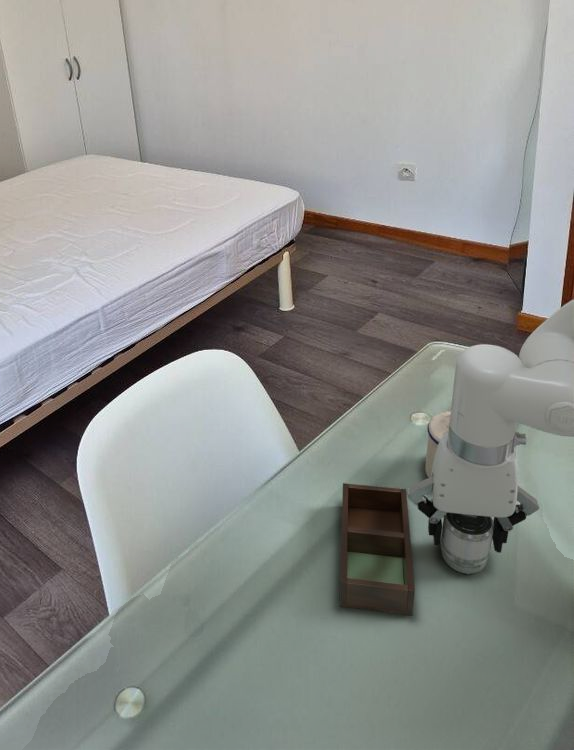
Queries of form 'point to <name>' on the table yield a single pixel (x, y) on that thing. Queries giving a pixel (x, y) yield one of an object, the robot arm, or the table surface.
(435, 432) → the teacup with lid
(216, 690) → the table surface
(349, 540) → the holder
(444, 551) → the camera lens
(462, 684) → the table surface
